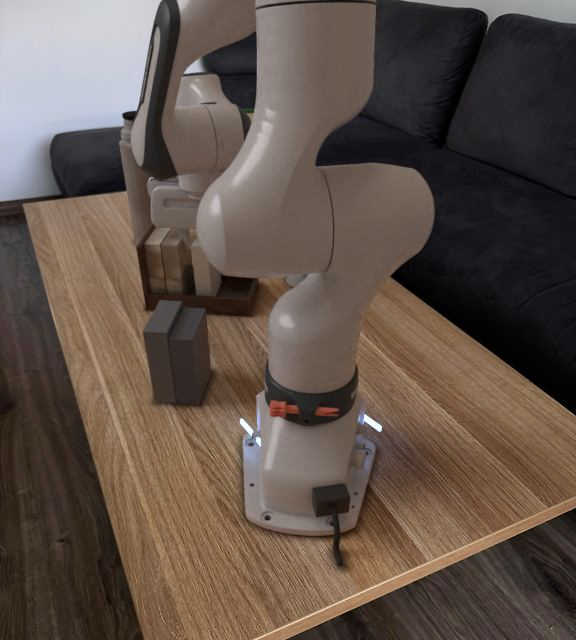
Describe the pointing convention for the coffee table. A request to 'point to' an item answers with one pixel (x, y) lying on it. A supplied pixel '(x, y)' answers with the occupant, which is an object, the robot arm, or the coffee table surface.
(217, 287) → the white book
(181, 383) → the grey books
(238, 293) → the dark wooden book rack
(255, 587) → the coffee table surface
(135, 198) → the thermos bottle
